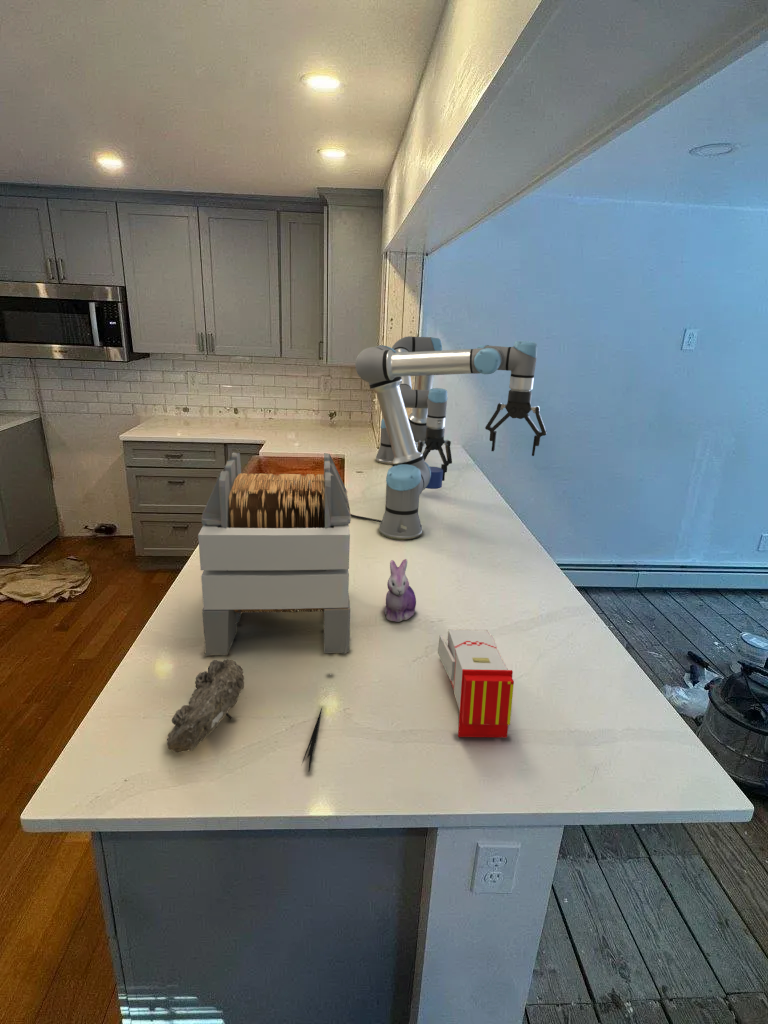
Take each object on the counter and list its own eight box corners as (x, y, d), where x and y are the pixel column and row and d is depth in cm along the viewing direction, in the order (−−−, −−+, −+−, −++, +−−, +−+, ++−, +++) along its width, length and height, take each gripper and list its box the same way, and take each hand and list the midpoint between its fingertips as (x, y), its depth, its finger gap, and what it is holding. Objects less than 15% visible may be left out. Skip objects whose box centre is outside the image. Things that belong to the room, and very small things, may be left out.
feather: (331, 679, 122) (336, 673, 122) (307, 777, 96) (313, 769, 95) (324, 675, 122) (329, 669, 121) (298, 772, 95) (304, 764, 95)
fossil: (192, 660, 117) (244, 628, 112) (224, 691, 120) (276, 661, 115) (142, 746, 98) (202, 712, 93) (182, 779, 101) (242, 748, 96)
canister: (430, 490, 234) (431, 473, 231) (416, 484, 240) (417, 468, 238) (446, 487, 239) (447, 470, 236) (432, 481, 245) (433, 465, 243)
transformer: (226, 586, 157) (217, 442, 143) (344, 585, 161) (346, 445, 147) (202, 658, 125) (189, 482, 112) (350, 654, 129) (354, 483, 115)
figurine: (392, 627, 141) (395, 572, 136) (374, 608, 149) (376, 556, 144) (425, 619, 145) (429, 566, 140) (405, 601, 154) (408, 550, 149)
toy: (488, 613, 130) (523, 677, 101) (484, 667, 133) (517, 744, 104) (435, 612, 130) (455, 676, 101) (432, 666, 133) (451, 743, 103)
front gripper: (560, 391, 187) (550, 454, 194) (484, 385, 194) (478, 446, 201) (559, 394, 180) (549, 459, 187) (481, 388, 187) (474, 450, 194)
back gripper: (413, 429, 225) (409, 484, 232) (463, 428, 231) (458, 481, 238) (407, 425, 231) (404, 478, 239) (456, 425, 237) (452, 476, 245)
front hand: (512, 452), depth 194 cm, fingers open, 13 cm apart
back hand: (431, 480), depth 239 cm, fingers closed on canister, 9 cm apart
